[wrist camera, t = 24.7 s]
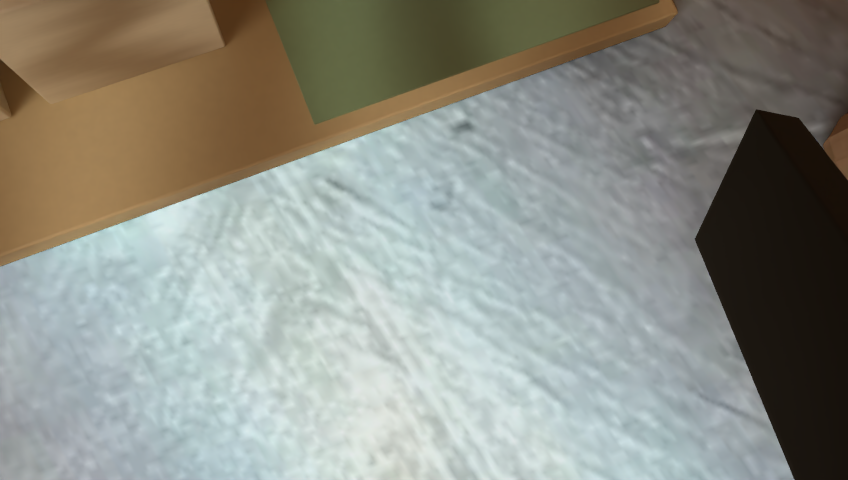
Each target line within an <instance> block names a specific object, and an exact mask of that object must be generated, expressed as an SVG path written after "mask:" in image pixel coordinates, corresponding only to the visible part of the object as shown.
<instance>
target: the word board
mask: <svg viewBox="0 0 848 480" xmlns="http://www.w3.org/2000/svg"><path fill="white" fill-rule="evenodd" d="M677 13H678V11H677V9H676V6H675V4H674V2H673V0H0V266H3V265H5V264H8V263H11V262H14V261H17V260H19V259H22V258H25V257H28V256H30V255H33V254H36V253H39V252H42V251H44V250H47V249H50V248H53V247H55V246H58V245H61V244H64V243H66V242H69V241H72V240H75V239H78V238H80V237H83V236H86V235H89V234H91V233H94V232H97V231H100V230H103V229H105V228H108V227H111V226H114V225H116V224H119V223H122V222H125V221H127V220H130V219H133V218H136V217H139V216H141V215H144V214H147V213H150V212H152V211H155V210H158V209H161V208H164V207H166V206H169V205H172V204H175V203H177V202H180V201H183V200H186V199H189V198H191V197H194V196H197V195H200V194H202V193H205V192H208V191H211V190H213V189H216V188H219V187H222V186H225V185H227V184H230V183H233V182H236V181H238V180H241V179H244V178H247V177H250V176H252V175H255V174H258V173H261V172H263V171H266V170H269V169H272V168H274V167H277V166H280V165H283V164H286V163H288V162H291V161H294V160H297V159H299V158H302V157H305V156H308V155H311V154H313V153H316V152H319V151H322V150H324V149H327V148H330V147H333V146H335V145H338V144H341V143H344V142H347V141H349V140H352V139H355V138H358V137H360V136H363V135H366V134H369V133H372V132H374V131H377V130H380V129H383V128H385V127H388V126H391V125H394V124H396V123H399V122H402V121H405V120H408V119H410V118H413V117H416V116H419V115H421V114H424V113H427V112H430V111H433V110H435V109H438V108H441V107H444V106H446V105H449V104H452V103H455V102H458V101H460V100H463V99H466V98H469V97H471V96H474V95H477V94H480V93H482V92H485V91H488V90H491V89H494V88H496V87H499V86H502V85H505V84H507V83H510V82H513V81H516V80H519V79H521V78H524V77H527V76H530V75H532V74H535V73H538V72H541V71H543V70H546V69H549V68H552V67H555V66H557V65H560V64H563V63H566V62H568V61H571V60H574V59H577V58H580V57H582V56H585V55H588V54H591V53H593V52H596V51H599V50H602V49H604V48H607V47H610V46H613V45H616V44H618V43H621V42H624V41H627V40H629V39H632V38H635V37H638V36H641V35H643V34H646V33H649V32H652V31H654V30H657V29H660V28H663V27H665V26H666V25H667V24H668V23H669V22H670V21H671V20H672V19H673V18H674V17H675V15H676V14H677Z"/></svg>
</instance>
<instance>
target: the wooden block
mask: <svg viewBox="0 0 848 480" xmlns="http://www.w3.org/2000/svg"><path fill="white" fill-rule="evenodd" d="M823 146H824V150H825V152H826V153H827V155H828V156H829V157H830V158H831V160H832V161H833V162H834V164H835V165H836V166H837V167H838V169H839V170H840V171H841V172H842V174H843V175H844V176H845V178H846V179H847V180H848V113H847V114H845V115H844V116H842V117H841V118H840V119H839V121H838V123H837V124H836V126H835V128H834V129H833V131H832V133H831V135H830V136H829V137H828V139H827V140H826V141H825V143H824V144H823Z"/></svg>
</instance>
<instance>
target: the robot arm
mask: <svg viewBox="0 0 848 480" xmlns="http://www.w3.org/2000/svg"><path fill="white" fill-rule="evenodd" d="M695 241H696V243H697V246H698V248H699V251H700V253H701V255H702V258H703V260H704V263H705V265H706V267H707V270H708V272H709V275H710V277H711V279H712V282H713V284H714V287H715V289H716V292H717V294H718V296H719V299H720V301H721V304H722V306H723V308H724V311H725V313H726V316H727V318H728V320H729V323H730V325H731V328H732V330H733V332H734V335H735V337H736V340H737V342H738V345H739V347H740V349H741V352H742V354H743V357H744V359H745V361H746V364H747V366H748V369H749V371H750V373H751V376H752V378H753V381H754V383H755V385H756V388H757V390H758V393H759V395H760V398H761V400H762V402H763V405H764V407H765V410H766V412H767V414H768V417H769V419H770V422H771V424H772V426H773V429H774V431H775V434H776V436H777V438H778V441H779V443H780V446H781V448H782V451H783V453H784V455H785V458H786V460H787V463H788V465H789V467H790V470H791V472H792V475H793V477H794V479H795V480H848V180H847V179H846V178H845V176H844V175H843V174H842V172H841V171H840V170H839V169H838V167H837V166H836V165H835V164H834V162H833V161H832V160H831V158H830V157H829V156H828V155H827V153H826V152H825V151H824V150H823V148H822V147H821V146H820V145H819V143H818V142H817V141H816V139H815V138H814V137H813V136H812V134H811V133H810V132H809V131H808V129H807V128H806V127H805V125H804V124H803V123H802V122H801V120H800V119H799V118H796V117H791V116H786V115H781V114H776V113H771V112H766V111H761V110H756V111H755V113H754V115H753V117H752V119H751V121H750V123H749V125H748V128H747V130H746V132H745V134H744V136H743V138H742V140H741V142H740V144H739V147H738V149H737V151H736V153H735V155H734V157H733V159H732V161H731V164H730V166H729V168H728V170H727V172H726V174H725V176H724V178H723V180H722V183H721V185H720V187H719V189H718V191H717V193H716V195H715V197H714V200H713V202H712V204H711V206H710V208H709V210H708V212H707V214H706V216H705V219H704V221H703V223H702V225H701V227H700V229H699V231H698V233H697V236H696V238H695Z"/></svg>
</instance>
